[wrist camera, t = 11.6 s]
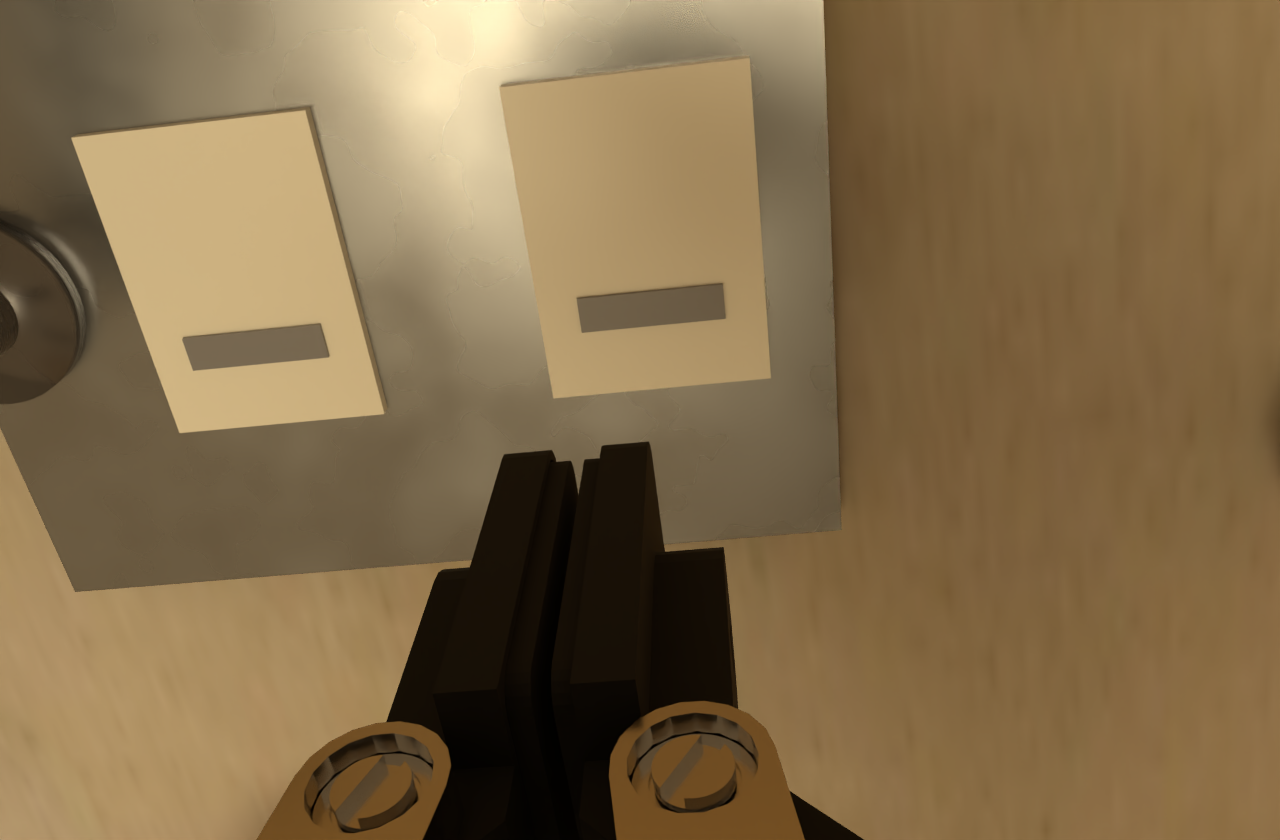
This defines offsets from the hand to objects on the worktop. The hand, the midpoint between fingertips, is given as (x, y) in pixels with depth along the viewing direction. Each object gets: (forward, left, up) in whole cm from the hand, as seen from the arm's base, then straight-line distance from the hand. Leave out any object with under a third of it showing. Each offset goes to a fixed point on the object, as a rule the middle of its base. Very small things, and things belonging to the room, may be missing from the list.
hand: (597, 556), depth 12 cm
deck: (+6, 0, -13) cm, 14 cm away
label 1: (+9, 0, -12) cm, 15 cm away
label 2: (0, 0, -12) cm, 12 cm away
